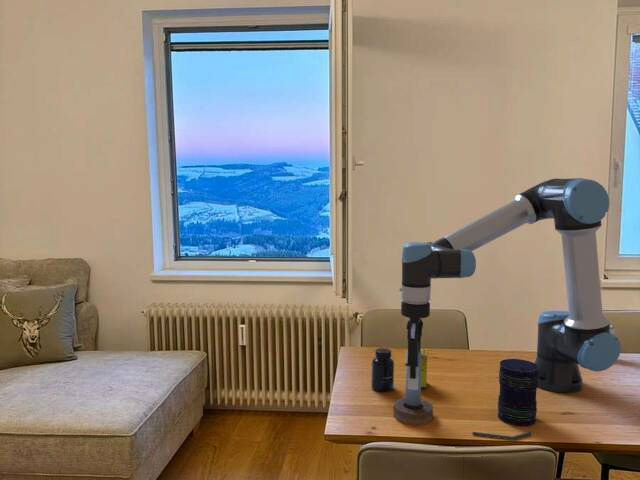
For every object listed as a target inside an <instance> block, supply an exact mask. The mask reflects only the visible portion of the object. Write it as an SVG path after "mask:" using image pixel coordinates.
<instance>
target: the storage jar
mask: <svg viewBox="0 0 640 480" xmlns="http://www.w3.org/2000/svg"><path fill="white" fill-rule="evenodd" d="M498 377H499V378H498V382H499V383H498V384H499V395H498V401H497V411H498V412H497V418H498V420H500V421H501V422H502V423H504V424H507V425H509V426H512V427H520V428H526V427H532V426H533V425H536V423H537V419H536V417H537V413H538V408H537V405H538V402H537V389H538V388H539V387H538V366H537V365H536V364H535V362H532V361H529V360H526V359H519V358H506V359H502V360H501V361H500V362H499V372H498Z"/></svg>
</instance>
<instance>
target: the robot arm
mask: <svg viewBox="0 0 640 480" xmlns="http://www.w3.org/2000/svg"><path fill="white" fill-rule="evenodd" d="M609 209H610V197H609V194H608V191H607V190H606V189H605V187H604V185H602V184H600V183H599V182H598V181H596V180H594V179H589V178H588V179H586V178H582V177H579V178H577V177H576V178H575V177H574V178H550V179H548V180H545V181H542V182H540V183H538V184H536V185H534V186H532V187H529V188H528V189H526V190H524V191H523V192H520V193H518V194H517V195H515V196H514V199H513V200H512V201H511V202H509V203H507V204H504V205H503V206H501V207H499V208H497V209H495V210H493V211H491V212H489V213H487V214H486V215H484V216H481V217H479V218H478V219H476V220H474V221H473V222H470V223H469V224H466V225H465V226H462V227H460V228H458V229H457V230H454V231H453V232H451V233H449V234H447V235H446V236H442V237H441V238H439V239H436V240H435V241H434V242H431V241H428V242H418V241H416V242H407V243H405V244H404V245H403V247H402V252H401V253H402V255H401V287H399V291H400V292H401V299H402V301H401V302H400V304H401V305H400V314H401V316H403V317H405V318H409V320H407V324H406V329H407V351H408V363H406V362H405V364H404V365H405V366H408V389H412V390H418V370H419V365H418V349H419V351H420V352H421V349H422V348H421V346H422V345H421V344H422V335H423V328H424V321H423V319H425V318H428V317H430V315H431V312H430V311H431V303H430V301H431V290H432V289H431V288H432V283H431V281H432V279H434V280H435V279H462V278H463V279H464V278H470V277H472V276H473V275H474V274H475V272H476V268H477V261H476V256H475V254H474V251H475V250H477V249H479V248H481V247H483V246H485V245H487V244H488V243H491V242H492V241H493V242H494V241H495V240H496V239H498V238H501V237H502V236H504V235H506V234H509V233H510V232H513V231H514V230H516V229H518V228H520V227H522V226H524V225H525V224H527V225H532V224H535V223H536V222H539V221H542V220H547V219H553V223H554V229H555V231H556V232H558V233H559V234H560V235H561V241H562V242H561V243H562V253H563V254H562V255H563V263H564V264H563V265H564V275H565V287H566V295H567V296H566V298H567V307H568V308H567V309H568V311H567V310H550V311H549V310H547V311H542V312H541V313H540V314H539V315H538V322H537V325H538V327H537V342H536V343H537V347H536V348H537V349H536V358H535V360H534V363H535V364H536V365H537V366H538V387H537V388H540V389H541V390H546V391H549V392H556V393H564V394H565V393H568V394H569V393H577V392H579V391H581V390H582V389H583V376H582V373H581V371H580V370H581V369H580V367H581V368H583V369H585V370H589V371H592V372H602V371H607V370H608V369H610V368H611V367H613V366H614V363H615V362H617V360H618V359H619V357H620V354H621V349H622V348H621V347H622V346H621V342H620V340H619V338H618V337H616V334H615V335H614V334H611V333H610V326H611V325H610V324H611V323H610V320H609V319H608V318H607V317H606V316H605V315H603V303H602V302H603V301H602V290H601V277H600V268H599V255H598V254H599V253H598V244H597V241H598V240H597V232H598V230H599V229H601V228H602V220H603V219H604V218H605V217H606V215H607V214H606V213H608V212H609ZM422 359H423V356H422Z"/></svg>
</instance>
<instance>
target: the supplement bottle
mask: <svg viewBox="0 0 640 480" xmlns="http://www.w3.org/2000/svg"><path fill="white" fill-rule="evenodd" d="M374 356H375V357H373V359H372V360H371V385H370V386H371V388H372V389H373V391H375V392H380V393H387V392H391V391H392V390H393V389H394V381H395V380H394V379H395V362H394V360H393V358H392V350H391V349H390V348H386V347H385V348H383V347H381V348H376V349H375V355H374Z"/></svg>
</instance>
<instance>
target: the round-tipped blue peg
mask: <svg viewBox="0 0 640 480" xmlns="http://www.w3.org/2000/svg"><path fill="white" fill-rule="evenodd" d="M406 363H408V350H407V351H406V362H405V364H406ZM421 364H422V353H421V352H420V351H419V349H418V365H419V370H418V390H412V389H408V366H406V369H405V373H406V374H405V398H406V404H408V405H411V406H417V405H420V404H421V399H422V398H421V397H422V389H421Z"/></svg>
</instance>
